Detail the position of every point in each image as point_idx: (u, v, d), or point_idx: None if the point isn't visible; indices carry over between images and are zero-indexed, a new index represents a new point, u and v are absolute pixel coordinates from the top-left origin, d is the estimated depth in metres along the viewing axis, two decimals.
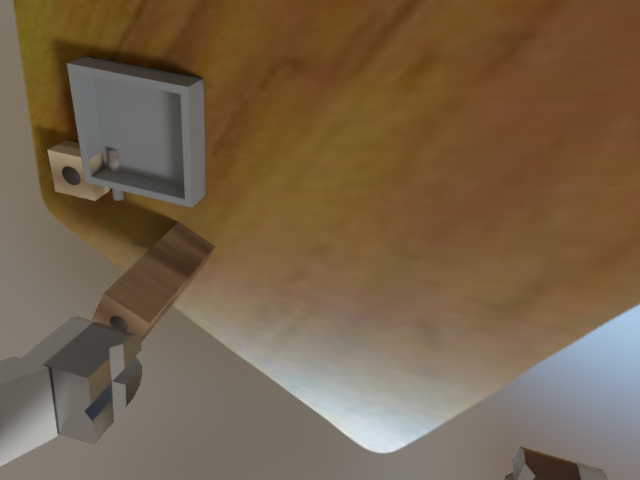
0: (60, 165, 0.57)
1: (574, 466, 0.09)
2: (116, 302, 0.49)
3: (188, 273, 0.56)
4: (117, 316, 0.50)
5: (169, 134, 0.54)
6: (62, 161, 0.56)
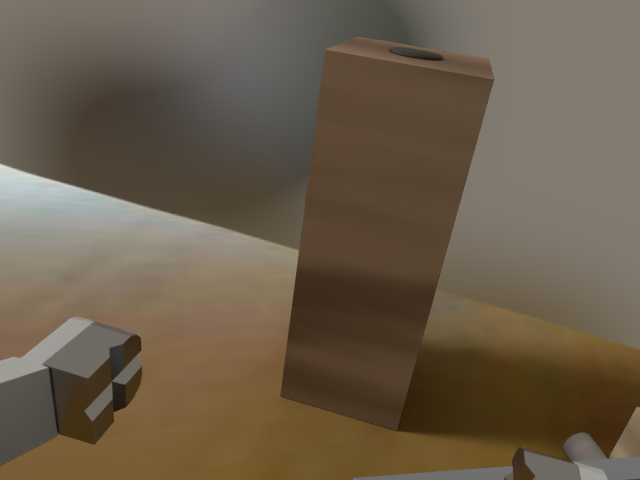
0: None
1: (574, 466, 0.09)
2: (445, 70, 0.15)
3: (304, 282, 0.20)
4: (425, 59, 0.17)
5: None
6: None
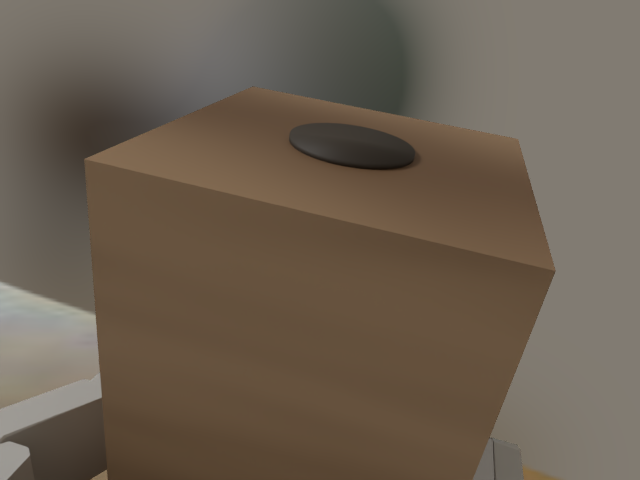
0: None
1: (489, 441, 0.10)
2: (411, 231, 0.05)
3: None
4: (369, 171, 0.07)
5: None
6: None
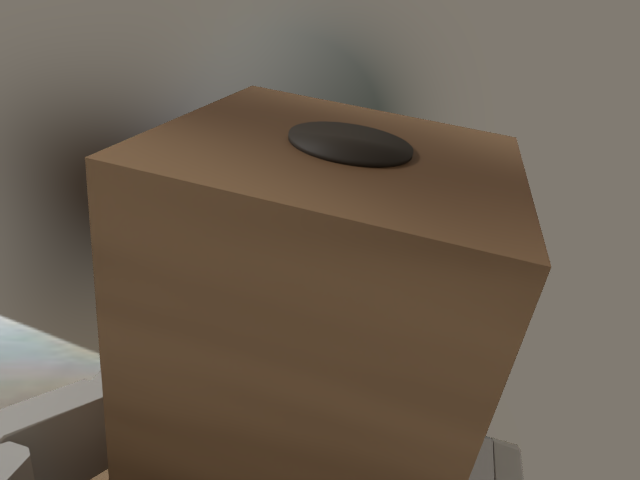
0: None
1: (489, 441, 0.10)
2: (409, 228, 0.05)
3: None
4: (367, 169, 0.07)
5: None
6: None
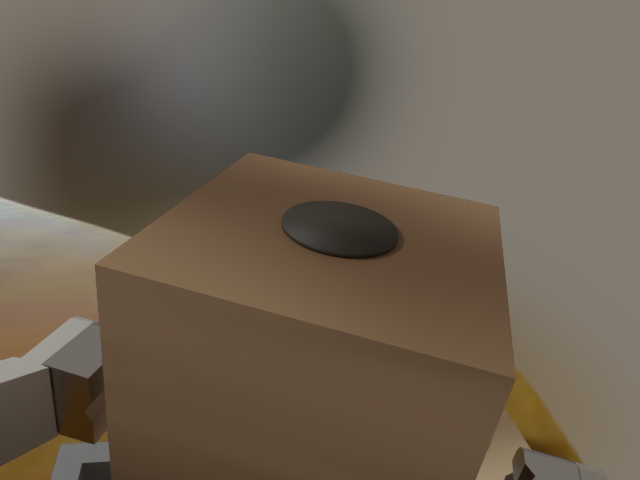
0: (499, 450, 0.20)
1: (573, 465, 0.09)
2: (388, 336, 0.06)
3: None
4: (354, 261, 0.07)
5: None
6: (498, 462, 0.19)
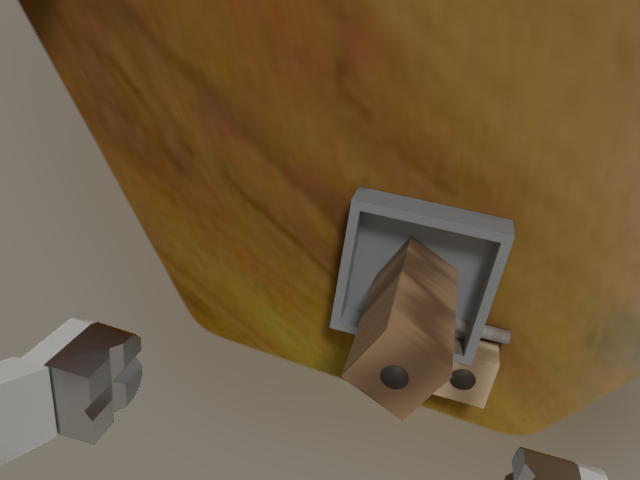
0: (448, 386, 0.47)
1: (574, 466, 0.09)
2: (354, 365, 0.34)
3: (399, 270, 0.39)
4: (379, 372, 0.33)
5: None
6: None
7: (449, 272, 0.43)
